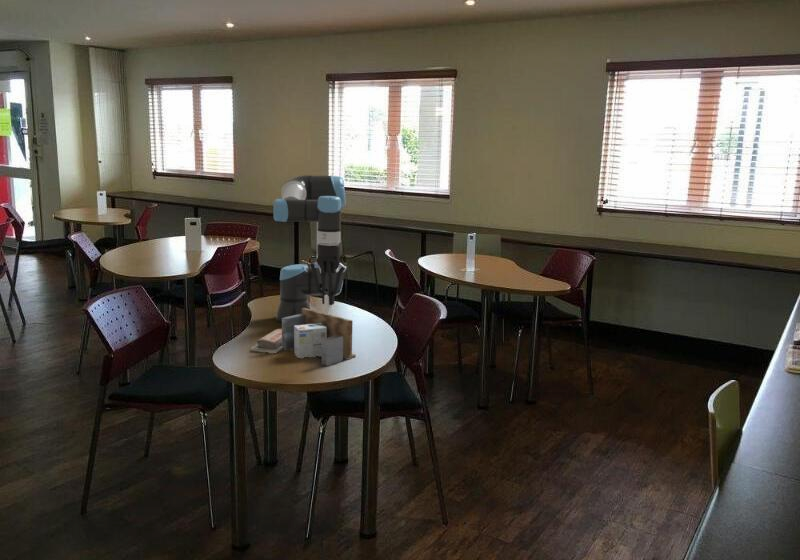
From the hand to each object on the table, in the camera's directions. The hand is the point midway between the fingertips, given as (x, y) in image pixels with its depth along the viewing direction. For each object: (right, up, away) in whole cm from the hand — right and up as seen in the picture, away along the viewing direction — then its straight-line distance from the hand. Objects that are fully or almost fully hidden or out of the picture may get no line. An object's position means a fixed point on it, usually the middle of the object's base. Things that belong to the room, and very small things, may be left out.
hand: (328, 313), depth 219 cm
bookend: (0, -17, +9) cm, 20 cm away
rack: (-6, -15, +19) cm, 25 cm away
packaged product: (-23, -14, +27) cm, 38 cm away
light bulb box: (-8, -16, +17) cm, 25 cm away
